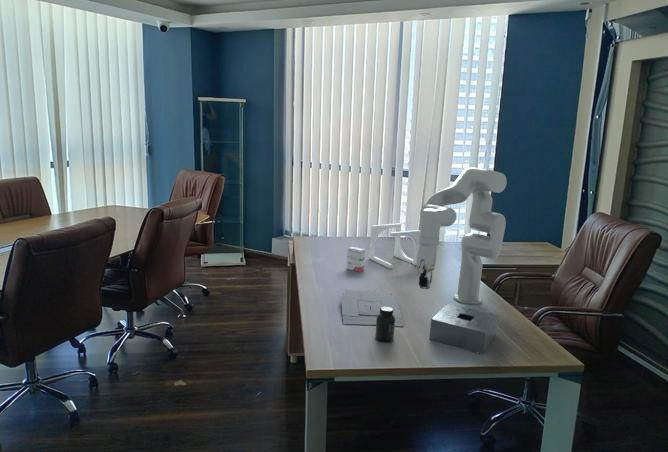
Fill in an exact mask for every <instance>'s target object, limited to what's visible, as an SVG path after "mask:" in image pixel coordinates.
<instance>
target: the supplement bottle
mask: <svg viewBox="0 0 668 452" xmlns="http://www.w3.org/2000/svg"><path fill="white" fill-rule="evenodd" d="M395 327H396V326H395V317H394V316H393V308H391V307H387V306H383V307H381V308H380V314H379V315H378V316H377V321H376V325H375V333H374V334H375V336H374V337H375V339H376V341H377V342H380V343H391V342H393V340H394V338H395Z"/></svg>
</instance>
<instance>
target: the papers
mask: <svg viewBox="0 0 668 452" xmlns="http://www.w3.org/2000/svg"><path fill="white" fill-rule="evenodd" d="M341 294H342V295H341V312H342V321H343V325H366V326H367V325H369V326H370V325H371V326H372V325H373V326H374V325H375V326H376V321H377V316H378V315H379V314H380V308H381V307H383V306H387V307H391V308H393V316H394V317H395V327H404V322H403V318H402V314H401V310H400V307H399V303H398V301H397V298H395V295H394V294H391V292H390V291H382V290H381V291H379V290H377V291H376V290H358V289H344V292H342V293H341Z"/></svg>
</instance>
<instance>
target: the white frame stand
mask: <svg viewBox="0 0 668 452" xmlns="http://www.w3.org/2000/svg"><path fill="white" fill-rule="evenodd" d="M388 229H395V231H391V232H389V237H391V238H393V237H395V239H394V240H395V241H394V248H393V249H394V250H393V251H394V253H393V256H394V257H396V258H398V259H401V260H403V261H405V262H408V263H409V264H411V263H412V265H413V266H416V264H417V256H418V250H419V246H420V244H419V237H420V229H413V230H405V231H404V230H402V223H397V222H396V223H387V224H373V225H371V229H370V243H369V244H370V246H369V256H368V259H370V260H371V261H374V262H375V263H376V264H377V263H378V264H380V265H382V266H383V267H386V268H388V269H393V267H394V265H393V264H392V263H391V262H388V261H386V260H384V259H381V258H380V257H377V256H376V255H375V252H376V251H375V248H376V242H377V240H378V238H379V236H380V234H381V233H382V232H384V231H386V230H388ZM404 236H406V237H408V238H410V240H411V241H412V242H413V256H412V257H413V258H411V257H409V256H408V255H406V254H405V252H404V250H403V248H402V245H401V237H404Z"/></svg>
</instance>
